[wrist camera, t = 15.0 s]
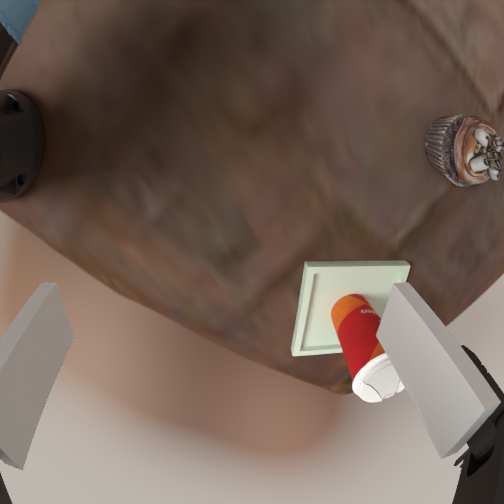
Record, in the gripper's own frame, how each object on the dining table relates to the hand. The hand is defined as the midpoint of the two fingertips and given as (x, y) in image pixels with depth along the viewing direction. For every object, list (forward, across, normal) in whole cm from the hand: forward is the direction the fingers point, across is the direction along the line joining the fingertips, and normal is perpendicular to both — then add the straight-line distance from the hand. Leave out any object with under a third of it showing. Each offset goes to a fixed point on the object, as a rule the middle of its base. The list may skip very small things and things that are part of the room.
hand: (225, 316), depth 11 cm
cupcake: (+27, +30, +6) cm, 41 cm away
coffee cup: (+26, +19, -20) cm, 38 cm away
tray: (+27, +19, -20) cm, 38 cm away
